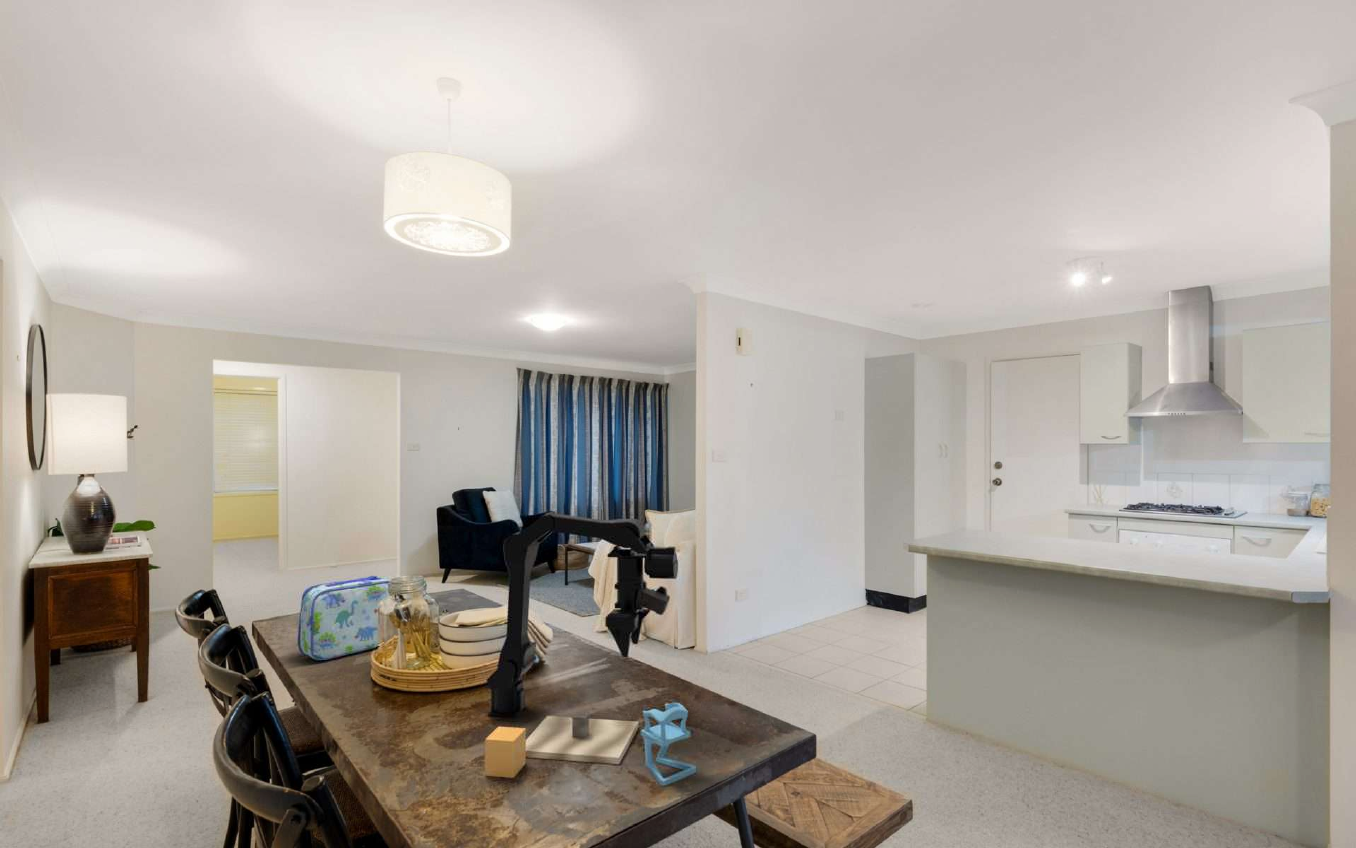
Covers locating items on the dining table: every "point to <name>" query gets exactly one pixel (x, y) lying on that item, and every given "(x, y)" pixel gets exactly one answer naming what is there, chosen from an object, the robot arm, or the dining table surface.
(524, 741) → the block
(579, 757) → the board
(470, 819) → the dining table surface
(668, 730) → the chair
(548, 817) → the dining table surface
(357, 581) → the lunch box
